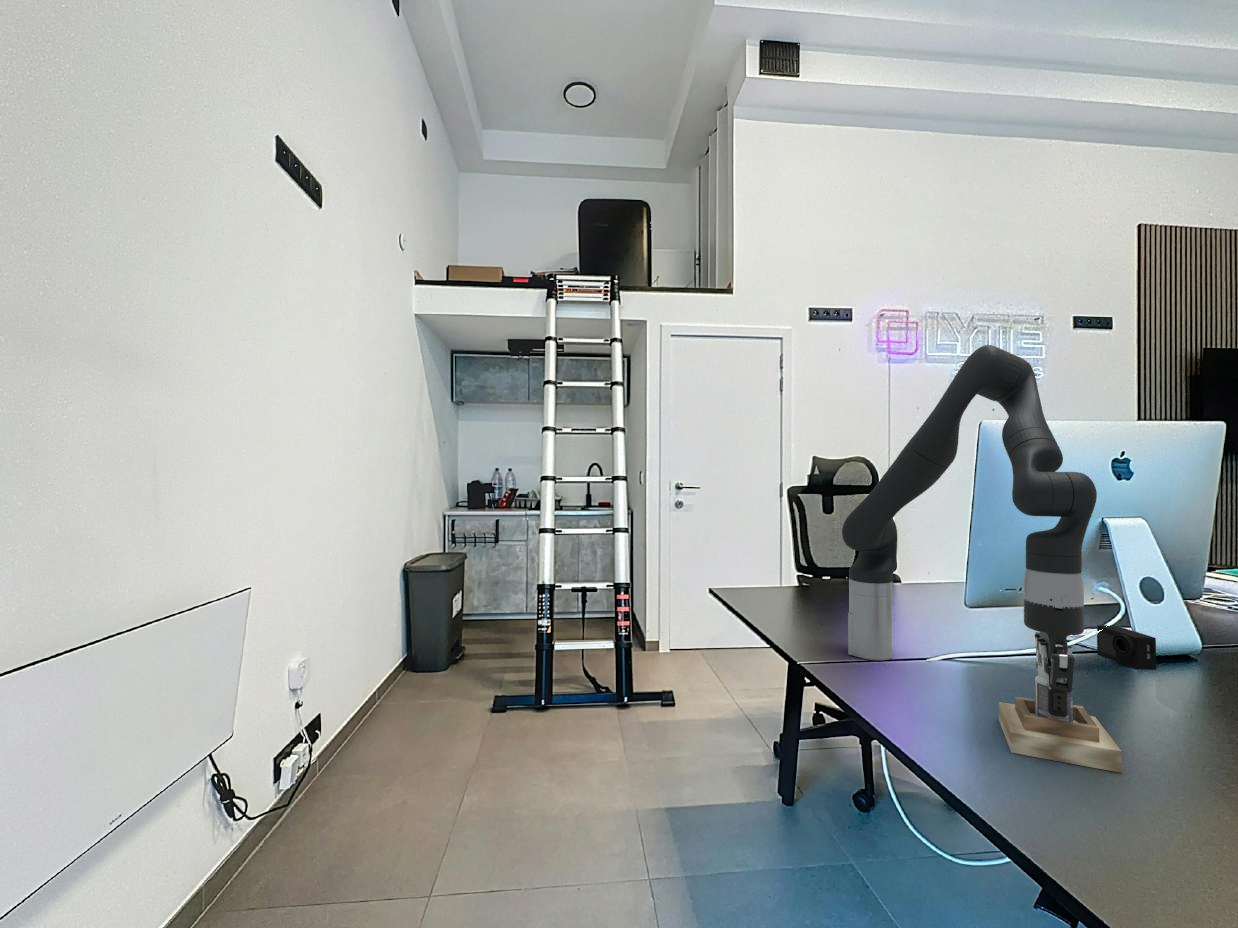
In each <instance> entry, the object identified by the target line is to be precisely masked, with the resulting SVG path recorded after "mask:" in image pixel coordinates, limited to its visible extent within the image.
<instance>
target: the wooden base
mask: <svg viewBox="0 0 1238 928" xmlns="http://www.w3.org/2000/svg"><path fill="white" fill-rule="evenodd" d="M998 721H999V722H998V723H999V724H1000V727H1001V730H1002V732H1003V734H1004V737H1005V740H1006V742H1007V745H1008V747H1009V751H1010V753H1011V754H1017V755H1023V756H1028V757H1033V758H1039V759H1044V760H1050V761H1056V762H1062V763H1066V764H1071V765H1078V766H1082V767H1088V768H1094V769H1100V770H1103V771H1104V770H1105V771H1108V772H1109V771H1111V772H1115V773H1120V774H1122V773H1123V766H1122V765H1123V762H1122V760H1123V759H1122V758H1123V757H1122V756H1123V755H1122V750H1121V748H1120V747H1119V746H1118V745H1117V744H1116V742H1115V740H1114V739H1113V738H1112V737H1111V736H1110V734H1109V733H1108V732H1107V731H1106V729H1105V728H1104V727H1103V725H1102V724H1101V723H1100V722H1099V720H1098V719H1097V718H1096V716H1092V715H1089V713H1088V711H1087V710H1086V709H1085V707H1084V706H1083V705H1077V704H1073V722H1069V721H1063V720H1057V719H1050V718H1044V717H1038V716H1036V715H1035V698H1027V697H1022V696H1014V703H1007V702H1000V701H998Z"/></svg>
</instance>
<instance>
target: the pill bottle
mask: <svg viewBox="0 0 1238 928" xmlns="http://www.w3.org/2000/svg"><path fill="white" fill-rule="evenodd" d="M1048 667H1049V668H1050V669H1051V667H1050V666H1048ZM1037 674H1038V675H1036V676H1035V679H1034V697H1035V698H1034V699H1035V715H1036V716H1038V717H1044V718H1050V719H1057V720H1063V721H1069V722H1073V705H1074V704H1073V703H1074V702H1073V701H1074V700H1073V698H1074V695H1073V694H1074V692H1073V691H1074V690H1072V693H1067V716H1066V717H1059V716H1053V715H1051V714H1050V713H1049V712H1048V688H1047V675H1046V674H1045V673H1044V672H1043V670H1042V663H1039V664H1038V669H1037ZM1056 682H1059V683H1063V678H1059V677H1058V678H1056ZM1073 686H1074V685H1073V684H1072V688H1073ZM1073 689H1074V688H1073Z"/></svg>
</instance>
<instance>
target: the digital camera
mask: <svg viewBox="0 0 1238 928" xmlns="http://www.w3.org/2000/svg"><path fill="white" fill-rule="evenodd" d="M1107 625H1108V624H1097V625H1096V632H1097V631H1099V630H1102V629H1103V630H1102V631H1100V632H1099V633H1098V634H1097V633H1096V651H1097V652H1096V655H1098V656H1100V657H1103V658H1105V659H1108V660H1110V661H1114V662H1115V663H1118V664H1122V665H1124V666H1127V667H1129V668H1132V669H1134V670H1157V640H1156V639H1157V638H1156V637H1154V636H1151V635H1148V634H1145V633H1142V632H1138V631H1134V630H1132V629H1128V628H1125V627H1122V626H1118V625H1114V624H1109V625H1110V626H1107ZM1106 626H1107V627H1106Z"/></svg>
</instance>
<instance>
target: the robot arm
mask: <svg viewBox="0 0 1238 928" xmlns="http://www.w3.org/2000/svg"><path fill="white" fill-rule="evenodd" d="M1034 371H1035V370H1034V368H1033V366H1032V365H1031V364H1030V363H1029V362H1028V361H1027V360H1026V359H1024V358H1022V357H1020V356H1019V355H1015V354H1013V353H1012V352H1009V351H1006V350H1004V349H1002V348H1000V347H998V346H996V345H992V344H986V345H982V346H980V347H978V348H976V349H975V350H974V351H973V352H972V353H971V354H970V355H969V356H968V357H967V358H966V360H965V361H964V362H963V364H962V365H961V367H960V368H959V369H958V371H957V372H956V375H955V376H954V378H953V379H952V381H951V382H950V383H949V385H948V387H947V388H946V390H945V392H944V393H943V394H942V397H941V398H940V399H939V401H938V403H937V404H936V406H935V407H934V408H933V410H932V411H931V413H930V414H929V415H928V417H926V419H925V420H924V422H923V423H922V425H921V426H920V427H919V429H918V430H917V431H916V432H915V433H914V435H913V436H912V437H911V438H910V439H909V441H908V442H907V444H906V445H905V446H904V447H903V449H902V450H901V451H900V453H898V456H896V459H895V460H894V461H893V462H892V464H891V465H890V466H889V468H888V469H887V470H886V472H885V473H884V474H883V475H882V476H881V478H880V480H879V481H878V482H877V483H876V485H875V486H874V488H873V489H872V490H871V491H870V492H869V493H868V494H867V496H865V498H864V499H863V500H862V501H861V502H860V503H858V505H857V506H856V507H855V508H854V509H853V510H851V513H850V514H848V515H847V517H846V519H845V520H844V522H843V524H842V528H841V535H842V540H843V542H844V544H845V545H846V546H847V547H848V548H849V549H851V550H853V551H856V552H858V556H857V559H856V560H855V562H854V563H852V564H851V565H850V567H849V570H848V573H849V574H848V590H849V591H848V599H849V600H848V608H849V609H848V613H847V615H848V616H847V620H848V621H847V636H848V637H847V639H848V640H847V645H848V646H847V647H848V648H847V649H848V650H847V653H848V655H849V656H854V657H857V658H860V659H864V660H871V661H887V660H892V659H893V655H894V653H893V650H894V649H893V648H894V646H893V645H894V644H893V638H894V636H893V633H894V631H893V627H894V626H893V622H894V621H893V619H894V618H893V616H894V615H893V613H894V612H893V610H894V609H893V576H894V572H895V570H896V567H897V561H898V560H897V558H898V557H897V555H898V529H897V525H896V522H895V520H894V517H895V516H896V515H897V513H899V511H900V510H901V509H903V508H904V507H905V506H907V505H908V504H910V503H911V502H912V501H914V500H915V499H917V498H918V497H920V496H921V495H922V494H924V493H925V492H926V491H927V490H929V488H931V487H932V486H933V485H935V484H936V483H937V482H938V480H939V479H940V478H941V477H942V476H943V475H944V473H946V471H947V470H948V469H949V468H950V466H951V465H952V463H954V461H955V459H956V456H957V453H958V447H959V436H960V426H961V425H960V424H961V420H962V418H963V417H962V416H963V415H964V413H965V412H966V410H967V407H969V405H970V403H971V402H972V400H973V399H974V398H975V397H976V396H980V397H983V398H985V399H988V400H990V401H992V402H997V403H998V404H999V405H1000V406H1001V407H1002V408H1003V410H1005V412H1006V414H1007V416H1008V417H1007V419H1006V420H1005V423H1004V424H1003V427H1002V429H1001V430H1002V432H1001V439H1002V443H1003V447H1004V449H1005V451H1006V454H1007V456H1008V459H1009V461H1010V464H1011V469H1012V491H1011V496H1012V502H1013V505H1014V506H1015V507H1016V509H1017V510H1018V511H1019V512H1021V513H1022V514H1024V515H1026V516H1030V517H1050V518H1052V517H1053V518H1055V517H1056V518H1057V517H1058V518H1059V520H1058V522H1057V523H1056V525H1055V526H1054V527H1052V528H1050V529H1046V530H1040V531H1034V532H1031V533H1029V534H1027V536H1026V538H1025V572H1024V573H1025V574H1024V578H1023V579H1024V581H1023V623H1024V625H1025V627H1027V628H1028V629H1030V630H1033V631H1036V632H1035V634H1034V639H1035V653H1036V658H1035V659H1036V664H1035V667H1036V670H1038V664H1039V663H1042V670H1043V672H1044V673H1045V674H1046V675H1047V688H1048V712H1049V713H1050V714H1051V715H1053V716H1059V717H1066V716H1067V693H1072V690H1073V689H1074V688H1072V685H1073V681H1074V667H1075V666H1074V665H1075V657H1074V655H1073V648H1072V645H1068V640H1067V638H1068V637H1069V636H1079V635H1082V634H1083V633H1084V631H1085V586H1084V580H1083V573H1082V572H1083V571H1082V570H1083V569H1082V567H1083V564H1082V563H1083V562H1082V561H1083V560H1082V559H1083V558H1082V553H1083V551H1082V549H1083V544H1084V539H1085V536H1086V533H1087V529H1088V526H1089V524H1090V520H1091V518H1092V516H1093V515H1092V514H1093V513H1094V510H1095V506H1096V504H1097V499H1098V493H1097V488H1096V485H1095V483H1094V481H1093V480H1092V479H1091V478H1090V477H1089V476H1088V475H1087V474H1086V473H1083V472H1078V471H1058V470H1059V469H1060V468H1061V466H1062V465H1063V461H1064V455H1063V453H1062V450H1061V448H1060V446H1059V445H1058V442H1057V439H1055V437H1054V435H1053V433H1052V430H1051V429H1050V427H1049V425H1048V423H1047V420H1046V418H1045V416H1044V415H1045V414H1044V412H1043V407H1042V402H1041V397H1040V393H1039V389H1038V383H1037V378H1036V374H1035V372H1034ZM1048 666H1050V667H1051V669H1050V668H1049V667H1048ZM1058 677H1059V678H1063V683H1059V682H1056V678H1058ZM1073 691H1074V690H1073Z"/></svg>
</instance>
